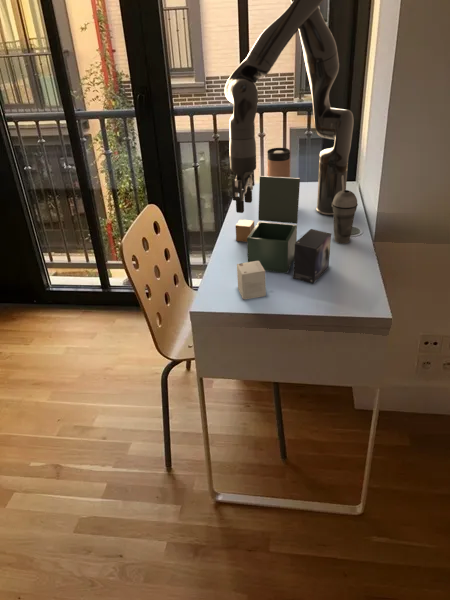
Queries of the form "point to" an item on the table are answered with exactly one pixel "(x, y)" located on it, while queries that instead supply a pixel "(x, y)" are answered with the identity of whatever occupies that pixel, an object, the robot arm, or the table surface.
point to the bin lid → (278, 199)
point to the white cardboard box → (251, 280)
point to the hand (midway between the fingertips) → (244, 207)
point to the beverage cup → (344, 214)
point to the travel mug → (278, 162)
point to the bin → (272, 245)
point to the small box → (311, 255)
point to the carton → (244, 229)
